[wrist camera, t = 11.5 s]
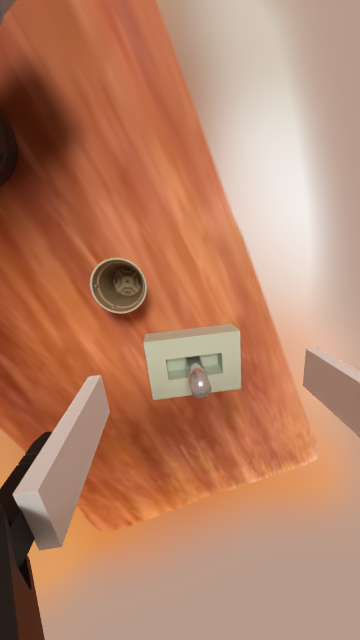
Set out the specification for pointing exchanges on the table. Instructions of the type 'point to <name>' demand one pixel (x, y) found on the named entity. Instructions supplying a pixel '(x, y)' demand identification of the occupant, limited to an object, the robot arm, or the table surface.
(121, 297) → the flower pot
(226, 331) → the slot block
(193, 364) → the pin
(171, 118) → the table surface
